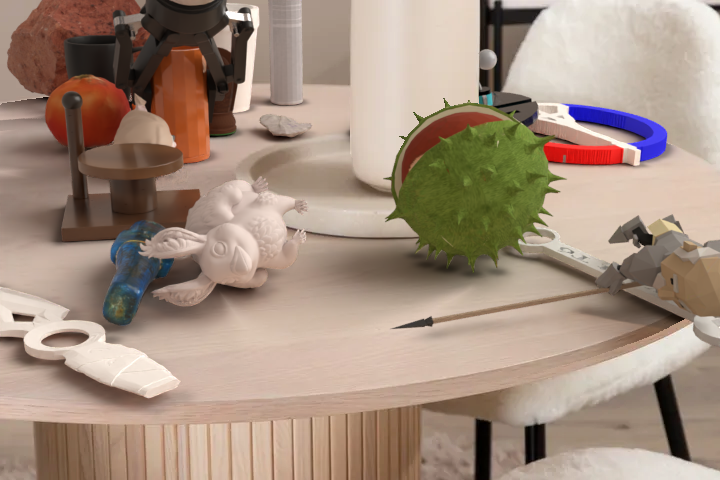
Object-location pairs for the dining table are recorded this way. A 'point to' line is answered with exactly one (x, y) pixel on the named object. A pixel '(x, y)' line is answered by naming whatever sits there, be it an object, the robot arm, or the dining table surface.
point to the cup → (183, 100)
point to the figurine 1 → (132, 272)
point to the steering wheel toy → (596, 135)
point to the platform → (511, 104)
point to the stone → (283, 125)
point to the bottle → (285, 51)
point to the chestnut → (471, 181)
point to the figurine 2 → (229, 240)
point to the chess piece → (224, 105)
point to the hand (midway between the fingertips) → (176, 114)
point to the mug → (94, 57)
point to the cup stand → (119, 184)
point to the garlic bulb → (143, 127)
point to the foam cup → (224, 42)
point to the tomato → (89, 110)
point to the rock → (61, 38)
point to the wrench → (594, 266)
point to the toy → (645, 271)
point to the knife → (81, 346)
